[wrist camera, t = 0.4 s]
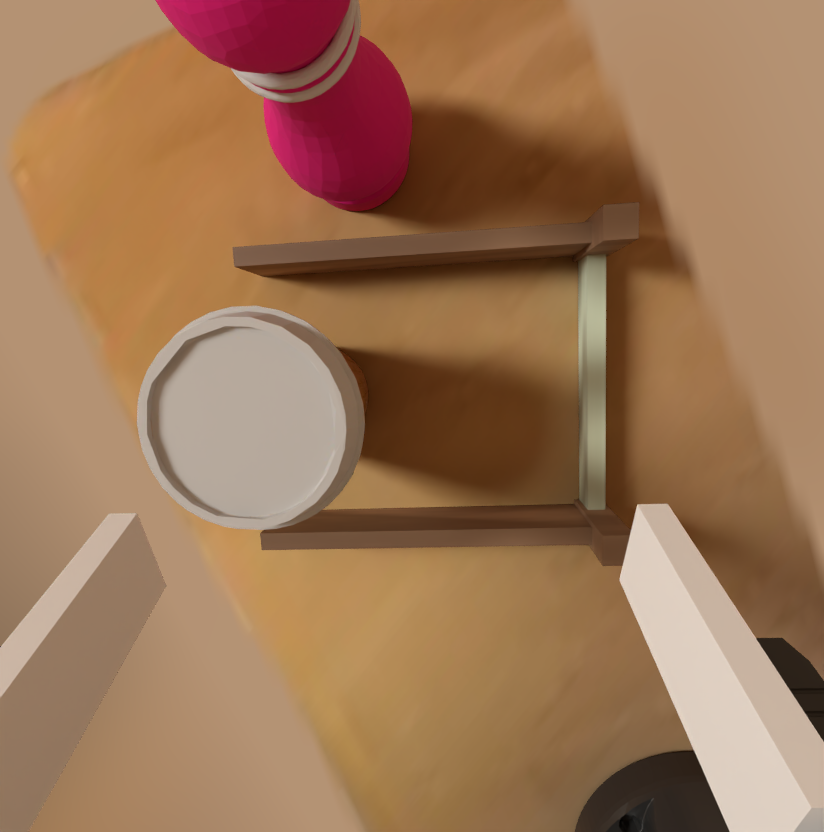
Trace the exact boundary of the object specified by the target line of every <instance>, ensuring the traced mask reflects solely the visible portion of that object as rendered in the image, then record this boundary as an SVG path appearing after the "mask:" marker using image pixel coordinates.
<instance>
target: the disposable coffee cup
mask: <svg viewBox="0 0 824 832" xmlns="http://www.w3.org/2000/svg"><path fill="white" fill-rule="evenodd" d="M367 406H368V387H367V382H366V379H365V377H364V375H363V372H362V371H361V369H360V368H359V367H358V365H357V364H356V362H355V361H354V360H352V359H351V358H350V357H349V356H348V355H347V354H345V353H344V352H342V351H340V350H338V349H337V348H336V347H335V346H334V345H333V344H332V342H331V341H330V340H329V339H328V338H327V337H326V336H324V335H323V334H322V333H321V332H320V331H318V330H317V329H316V328H315V327H313V326H312V325H310V324H309V323H307V322H306V321H304V320H302V319H300V318H297V317H295V316H293V315H291V314H288V313H286V312H283V311H280V310H275V309H270V308H265V307H260V306H239V307H229V308H225V309H221V310H217V311H214V312H210V313H208V314H206V315H204V316H202V317H200V318H198V319H196V320H194V321H192V322H191V323H189V324H188V325H187V326H186V327H184V328H183V329H182V330H181V331H179V332H178V333H177V334H176V335H175V336H174V337H173V338H172V339H171V341H170V342H169V343H168V344H167V345H166V346H165V347H164V348H163V349H162V350H161V351H160V352H159V353H158V354H157V356H156V357H155V359H154V361H153V362H152V364H151V365H150V367H149V368H148V370H147V373H146V375H145V378H144V380H143V383H142V385H141V390H140V394H139V399H138V412H137V427H138V432H139V437H140V442H141V447H142V451H143V453H144V455H145V458H146V460H147V463H148V465H149V467H150V469H151V471H152V472H153V474H154V475H155V477H156V478H157V480H158V481H159V483H160V484H161V486H162V487H163V489H164V490H165V491H166V492H167V493H168V494H169V495H170V496H171V497H172V498H173V499H174V500H175V501H176V502H177V503H179V504H180V505H181V506H182V507H184V508H185V509H186V510H188V511H189V512H191V513H193V514H195V515H197V516H198V517H200V518H202V519H204V520H206V521H209V522H212V523H215V524H218V525H221V526H224V527H230V528H236V529H258V530H266V529H277V528H281V527H286V526H290V525H294V524H296V523H299V522H301V521H303V520H306V519H308V518H310V517H312V516H313V515H315V514H317V513H318V512H319V511H321V510H322V509H324V508H325V507H326V506H328V505H329V504H330V503H331V502H332V501H333V500H334V499H335V498H336V497H337V495H338V494H339V493H340V492H341V491H342V490H343V488H344V487H345V485H346V484H347V482H348V481H349V479H350V478H351V476H352V474H353V472H354V470H355V467H356V465H357V462H358V460H359V458H360V455H361V450H362V445H363V439H364V430H365V419H364V416H365V413H366V411H367Z"/></svg>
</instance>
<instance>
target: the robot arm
mask: <svg viewBox="0 0 824 832" xmlns="http://www.w3.org/2000/svg"><path fill="white" fill-rule="evenodd" d="M619 580H620V582H621V585H622V587H623V589H624V591H625V594H626V596H627V598H628V601H629V603H630V605H631V607H632V610H633V612H634V614H635V617H636V619H637V621H638V623H639V626H640V628H641V630H642V633H643V635H644V637H645V639H646V642H647V644H648V646H649V649H650V651H651V653H652V655H653V658H654V660H655V662H656V665H657V667H658V669H659V671H660V674H661V676H662V678H663V680H664V683H665V685H666V687H667V690H668V692H669V694H670V696H671V699H672V701H673V703H674V706H675V708H676V710H677V712H678V715H679V717H680V719H681V722H682V724H683V726H684V728H685V731H686V733H687V735H688V738H689V740H690V742H691V744H692V747H693V749H694V751H695V752H676V753H668V754H662V755H657V756H653V757H649V758H646V759H643V760H640V761H638V762H636V763H633V764H631V765H629V766H627V767H625V768H623V769H622V770H620V771H618V772H617V773H615V774H614V775H613V776H611V777H610V778H609V779H607V780H606V781H605V782H604V783H603V784H602V785H601V786H600V787H599V788H598V789H597V790H596V791H595V792H594V793H593V795H592V796H591V797H590V799H589V800H588V801H587V803H586V805H585V806H584V808H583V810H582V812H581V814H580V817H579V819H578V822H577V826H576V830H575V832H824V681H823V679H822V678H821V676H820V675H819V674H818V672H817V671H816V670H815V668H814V667H813V665H812V664H811V663H810V661H809V660H807V659H806V658H805V657H804V656H803V655H802V654H800V653H799V652H798V651H797V650H796V649H794V648H793V647H792V646H791V645H790V644H789V643H787V642H786V641H785V640H784V639H783V638H755V636H754V635H753V633H752V632H751V630H750V629H749V627H748V626H747V624H746V622H745V621H744V619H743V618H742V616H741V615H740V613H739V612H738V610H737V609H736V607H735V606H734V604H733V603H732V601H731V600H730V598H729V597H728V595H727V594H726V592H725V590H724V589H723V587H722V586H721V584H720V583H719V581H718V580H717V578H716V577H715V575H714V574H713V572H712V571H711V569H710V568H709V566H708V565H707V563H706V561H705V560H704V558H703V557H702V555H701V554H700V552H699V551H698V549H697V548H696V546H695V545H694V543H693V542H692V540H691V539H690V537H689V536H688V534H687V532H686V531H685V529H684V528H683V526H682V525H681V523H680V522H679V520H678V519H677V517H676V516H675V514H674V513H673V511H672V510H671V508H670V507H669V505H668V504H637V508H636V512H635V517H634V521H633V525H632V529H631V533H630V537H629V542H628V546H627V550H626V554H625V558H624V563H623V567H622V571H621V575H620V579H619ZM165 587H166V584H165V582H164V579H163V576H162V574H161V571H160V569H159V566H158V564H157V561H156V559H155V557H154V554H153V552H152V549H151V547H150V544H149V542H148V539H147V537H146V534H145V532H144V529H143V527H142V525H141V522H140V519H139V517H138V514H137V513H125V514H108V516H107V517H106V518H105V519H104V521H103V522H102V523H101V524H100V525H99V527H98V528H97V529H96V530H95V532H94V533H93V534H92V536H91V537H90V538H89V539H88V540H87V541H86V543H85V544H84V545H83V546H82V548H81V549H80V550H79V551H78V553H77V554H76V555H75V556H74V557H73V559H72V560H71V561H70V563H69V564H68V565H67V566H66V567H65V569H64V570H63V571H62V572H61V573H60V575H59V576H58V577H57V578H56V580H55V581H54V582H53V583H52V585H51V586H50V587H49V588H48V590H47V591H46V592H45V593H44V594H43V596H42V597H41V598H40V599H39V600H38V602H37V603H36V604H35V606H34V607H33V608H32V609H31V610H30V612H29V613H28V614H27V615H26V617H25V618H24V619H23V620H22V622H21V623H20V624H19V625H18V627H17V628H16V629H15V630H14V631H13V632H12V634H11V635H10V636H9V637H8V639H7V640H6V641H5V642H4V644H3V645H2V646H0V832H29V830H30V828H31V827H32V825H33V823H34V821H35V819H36V818H37V816H38V814H39V812H40V810H41V809H42V807H43V805H44V803H45V802H46V799H47V798H48V796H49V794H50V793H51V791H52V789H53V787H54V785H55V784H56V782H57V780H58V778H59V776H60V775H61V773H62V771H63V769H64V768H65V766H66V764H67V762H68V760H69V759H70V757H71V755H72V753H73V752H74V750H75V748H76V746H77V744H78V743H79V741H80V739H81V737H82V735H83V734H84V732H85V730H86V728H87V726H88V724H89V723H90V721H91V719H92V717H93V716H94V714H95V712H96V710H97V709H98V707H99V705H100V703H101V701H102V699H103V698H104V696H105V694H106V692H107V691H108V689H109V687H110V685H111V684H112V681H113V680H114V678H115V676H116V675H117V673H118V671H119V669H120V667H121V666H122V664H123V662H124V660H125V659H126V657H127V655H128V653H129V651H130V650H131V648H132V646H133V644H134V642H135V641H136V639H137V637H138V635H139V633H140V632H141V630H142V628H143V626H144V625H145V623H146V621H147V619H148V617H149V616H150V614H151V612H152V610H153V608H154V607H155V605H156V603H157V601H158V600H159V598H160V596H161V594H162V592H163V591H164V589H165Z"/></svg>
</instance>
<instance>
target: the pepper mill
mask: <svg viewBox="0 0 824 832" xmlns="http://www.w3.org/2000/svg"><path fill="white" fill-rule="evenodd" d="M156 2H157V4H158V5H159V7H160V9H161V10H162V11H163V13H164V14H165V15H166V17H167V18H168V19H169V21H170V22H171V23H172V24H173V25H174V27H175V28H176V29H177V30H178V31H179V33H180V34H181V35H182V36H183V37H184V38H185V39H187V40H188V41H189V42H190V43H191V44H192V45H193V46H194V47H195V48H196V49H197V50H198V51H200V52H201V53H203V54H204V55H206V56H207V57H208V58H210V59H211V60H213V61H216V62H218V63H220V64H223V65H225V66H227V67H230V68H231V69H232V71H233V72H234V74H235V75H236V76H237V77H238V78H239V80H240V81H241V82H242V83H243V84H244V85H246V86H247V87H248V88H249V89H250V90H252V91H253V92H255V93H257V94H258V95H260V96H262V97H264V117H265V124H266V129H267V134H268V137H269V141H270V144H271V147H272V149H273V151H274V154H275V156H276V157H277V159H278V160H279V162H280V163H281V165H282V167H283V168H284V169H285V171H286V172H287V173H288V175H289V176H290V177H291V179H293V180H294V181H295V182H296V183H297V184H298V185H299V186H300V187H301V188H303V189H304V190H306V191H308V192H309V193H311V194H313V195H315V196H317V197H320V198H323V199H324V200H326V201H327V202H328V203H330V204H332V205H333V206H335V207H338V208H340V209H344V210H349V211H363V210H369V209H372V208H375V207H377V206H379V205H381V204H382V203H384V202H386V201H387V200H388V199H389V198H390V197H392V196H393V194H394V193H395V192H396V191H397V190H398V188H399V187H400V185H401V184H402V182H403V180H404V178H405V175H406V172H407V168H408V164H409V146H410V142H411V136H412V112H411V106H410V102H409V98H408V95H407V92H406V89H405V87H404V84H403V82H402V80H401V77H400V75H399V73H398V72H397V70H396V69H395V67H394V65H393V64H392V62H391V61H390V60H389V59H388V58H387V57H386V56H385V54H384V53H383V52H382V51H381V50H380V49H379V48H378V47H377V46H376V45H375V44H373V43H372V42H370V41H369V40H367V39H366V38H364V37H362V36H360V27H361V15H360V6H359V1H358V0H156Z"/></svg>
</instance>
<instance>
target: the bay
mask: <svg viewBox="0 0 824 832" xmlns="http://www.w3.org/2000/svg"><path fill="white" fill-rule="evenodd" d="M638 238H639V202H634V203H620V204H607V205H603V206H602V207H600V208H599V209H598V210H597V211H596V212H595V213H594V214H593V215H592V216H591V217H590V218H589V219H587V220H586V221H585V222H583V223H569V224H555V225H541V226H527V227H513V228H499V229H484V230H470V231H456V232H442V233H428V234H414V235H399V236H385V237H371V238H357V239H343V240H329V241H315V242H300V243H286V244H272V245H258V246H244V247H233V257H234V267H237V268H240V269H243V270H246V271H248V272H251V273H254V274H257V275H260V276H277V275H293V274H308V273H323V272H339V271H354V270H369V269H385V268H400V267H415V266H431V265H446V264H462V263H477V262H492V261H508V260H523V259H538V258H554V257H569V256H573V262H574V261H578V329H579V499H574V504H558V505H515V506H471V507H428V508H384V509H341V510H321V511H319V512H318V513H317V514H315V515H313V516H312V517H310V518H308V519H306V520H303V521H301V522H299V523H296V524H294V525H290V526H286V527H281V528H277V529H266V530H263V531H262V532H261V533H260V536H261V546H262V550H293V549H355V548H417V547H479V546H541V545H589V546H590V548H591V549H592V551H593V552H594V554H595V555H596V557H597V558H598V560H599V561H600V563H601V564H602V566H623V563H624V558H625V554H626V550H627V546H628V542H629V537H630V533H631V530H630V529H629V528H628V527H627V526H626V525H625V524H624V523H623V522H622V521H621V520H620V519H619V518H618V516H617V515H616V514H615V513H614V512H613V511H612V510H611V509H610V508H609V507H608V506H607V505H606V504H605V481H606V257H607V256H609V255H610V254H612V253H614V252H616V251H617V250H619V249H621V248H623V247H624V246H626V245H628V244H630V243H631V242H633V241H635V240H637V239H638Z"/></svg>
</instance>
